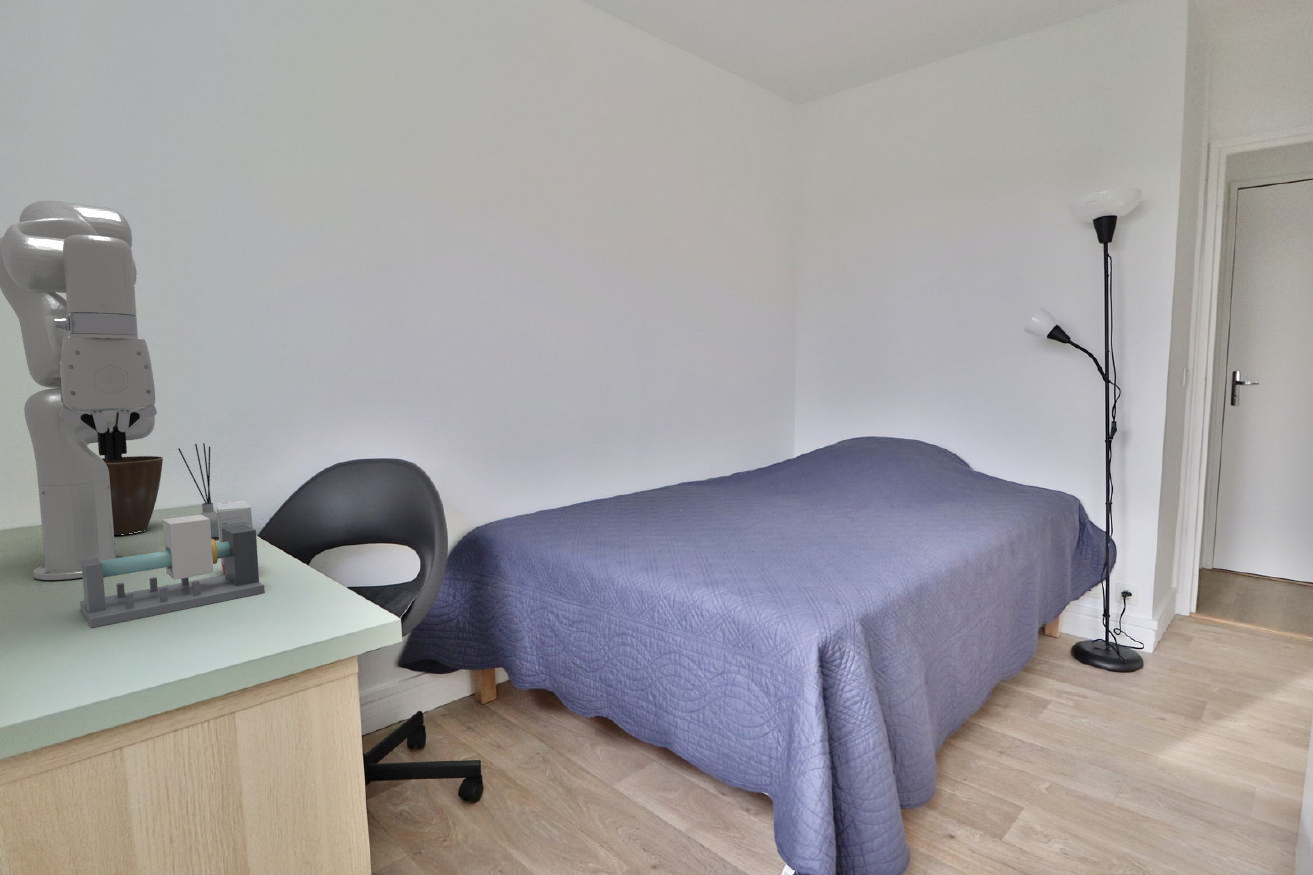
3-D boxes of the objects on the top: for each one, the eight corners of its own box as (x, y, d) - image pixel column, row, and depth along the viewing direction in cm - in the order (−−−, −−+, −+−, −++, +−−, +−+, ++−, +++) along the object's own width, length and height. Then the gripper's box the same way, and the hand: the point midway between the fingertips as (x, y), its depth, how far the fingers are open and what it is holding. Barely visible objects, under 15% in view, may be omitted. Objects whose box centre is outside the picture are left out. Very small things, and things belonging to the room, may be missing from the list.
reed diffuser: (231, 540, 146) (224, 443, 144) (192, 546, 141) (185, 445, 139) (214, 533, 153) (208, 440, 151) (176, 539, 147) (169, 442, 146)
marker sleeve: (174, 579, 103) (170, 524, 103) (166, 573, 107) (162, 519, 106) (213, 572, 107) (210, 519, 106) (204, 566, 111) (201, 514, 110)
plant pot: (125, 524, 163) (120, 455, 161) (184, 526, 161) (179, 455, 159) (63, 539, 148) (56, 463, 147) (126, 541, 146) (120, 463, 144)
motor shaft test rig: (91, 627, 95) (86, 558, 94) (80, 609, 102) (75, 545, 102) (264, 592, 109) (261, 532, 109) (243, 578, 117) (239, 522, 116)
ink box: (257, 576, 118) (253, 506, 117) (222, 581, 116) (217, 510, 115) (253, 565, 126) (249, 499, 125) (220, 570, 123) (215, 502, 122)
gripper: (34, 325, 90) (46, 468, 92) (174, 329, 101) (182, 458, 103) (29, 327, 96) (41, 462, 98) (162, 331, 106) (170, 453, 108)
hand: (113, 459), depth 100 cm, fingers closed
